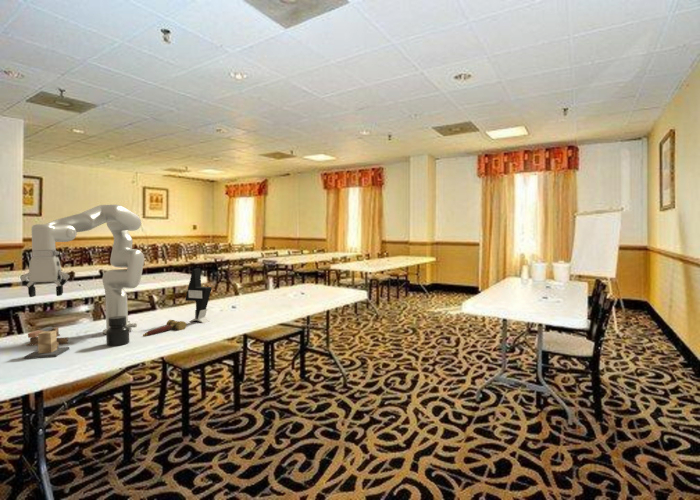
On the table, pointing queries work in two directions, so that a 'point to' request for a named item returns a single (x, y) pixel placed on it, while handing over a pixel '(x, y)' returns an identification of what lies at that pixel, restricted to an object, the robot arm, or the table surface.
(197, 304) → the award
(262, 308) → the table surface
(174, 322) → the gavel
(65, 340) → the cradle
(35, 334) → the cutter lever
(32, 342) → the lever base
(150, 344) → the table surface
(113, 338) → the ink bottle
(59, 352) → the mat
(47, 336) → the block
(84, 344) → the table surface
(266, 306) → the table surface
